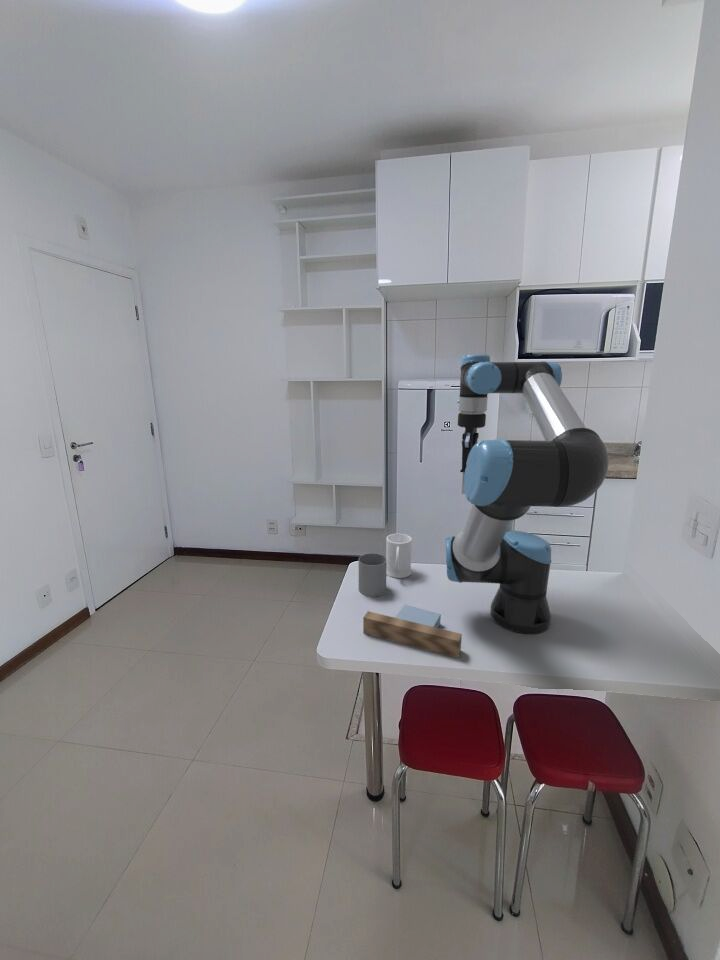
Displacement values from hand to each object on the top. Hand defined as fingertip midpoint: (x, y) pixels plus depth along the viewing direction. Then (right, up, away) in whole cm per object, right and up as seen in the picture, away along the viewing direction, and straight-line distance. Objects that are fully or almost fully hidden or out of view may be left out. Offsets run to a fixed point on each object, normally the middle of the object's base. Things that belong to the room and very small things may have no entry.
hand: (466, 493), depth 124 cm
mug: (-19, -27, +14) cm, 36 cm away
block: (-16, -35, -14) cm, 41 cm away
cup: (-28, -30, +5) cm, 41 cm away
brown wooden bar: (-19, -36, -19) cm, 45 cm away
